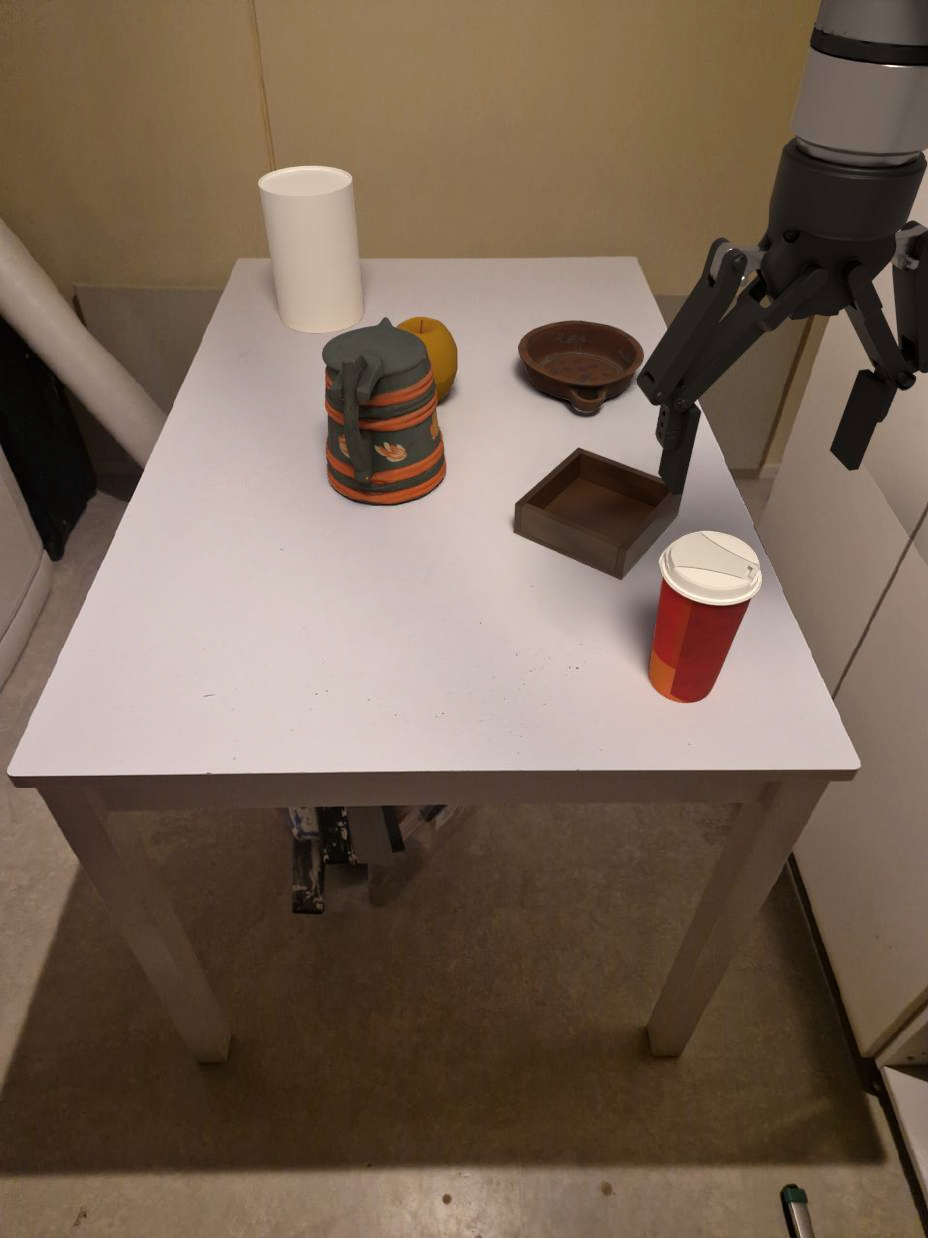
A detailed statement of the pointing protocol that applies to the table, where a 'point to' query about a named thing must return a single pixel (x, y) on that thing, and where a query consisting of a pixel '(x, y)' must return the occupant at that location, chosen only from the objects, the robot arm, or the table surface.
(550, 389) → the dish
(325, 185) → the canister
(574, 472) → the square wooden tray
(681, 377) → the robot arm
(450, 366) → the apple
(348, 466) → the beer stein
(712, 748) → the table surface
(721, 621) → the coffee cup
